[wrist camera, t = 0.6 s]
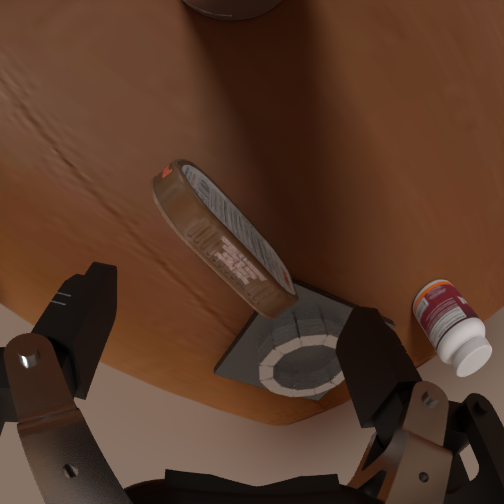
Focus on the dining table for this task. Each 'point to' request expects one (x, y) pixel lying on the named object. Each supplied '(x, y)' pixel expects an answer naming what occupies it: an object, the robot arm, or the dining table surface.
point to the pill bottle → (452, 327)
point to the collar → (292, 346)
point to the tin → (223, 237)
